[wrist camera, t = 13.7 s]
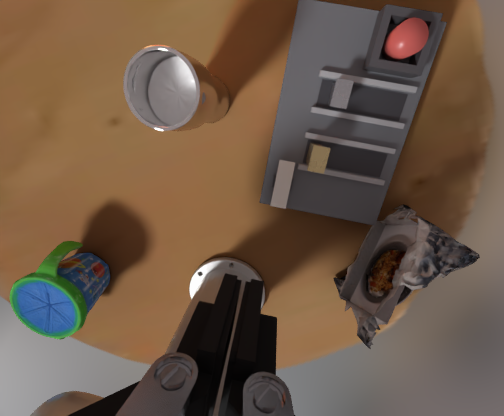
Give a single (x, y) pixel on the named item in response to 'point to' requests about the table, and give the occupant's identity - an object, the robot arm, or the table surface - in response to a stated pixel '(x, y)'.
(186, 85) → the beer glass
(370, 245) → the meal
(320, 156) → the brass slider
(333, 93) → the steel slider
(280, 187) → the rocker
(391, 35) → the button
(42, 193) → the table surface
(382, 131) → the panel
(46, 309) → the snack cup
